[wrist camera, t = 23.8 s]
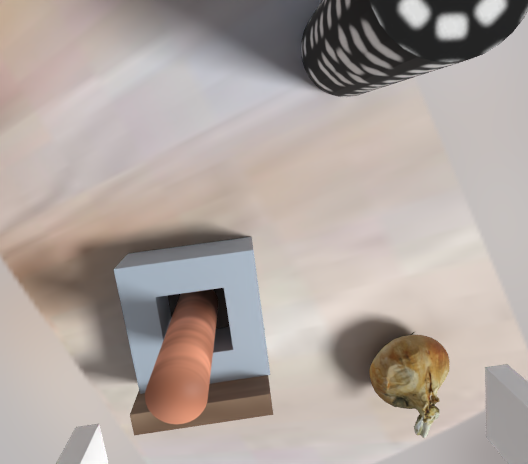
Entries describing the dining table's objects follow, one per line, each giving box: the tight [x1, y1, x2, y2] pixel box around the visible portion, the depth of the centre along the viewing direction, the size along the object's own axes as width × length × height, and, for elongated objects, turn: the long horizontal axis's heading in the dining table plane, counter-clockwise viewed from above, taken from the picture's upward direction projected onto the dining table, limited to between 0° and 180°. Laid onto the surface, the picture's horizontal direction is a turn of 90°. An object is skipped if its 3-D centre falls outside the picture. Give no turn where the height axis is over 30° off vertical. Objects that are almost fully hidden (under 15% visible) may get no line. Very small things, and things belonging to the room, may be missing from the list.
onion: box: [369, 332, 449, 438], centre depth 43 cm, size 8×8×8 cm
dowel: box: [145, 289, 219, 424], centre depth 36 cm, size 4×4×16 cm
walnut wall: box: [130, 375, 273, 435], centre depth 42 cm, size 2×12×8 cm, turn 97°
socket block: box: [114, 237, 270, 394], centre depth 41 cm, size 12×12×5 cm
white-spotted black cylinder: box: [301, 0, 528, 97], centre depth 30 cm, size 8×8×20 cm
